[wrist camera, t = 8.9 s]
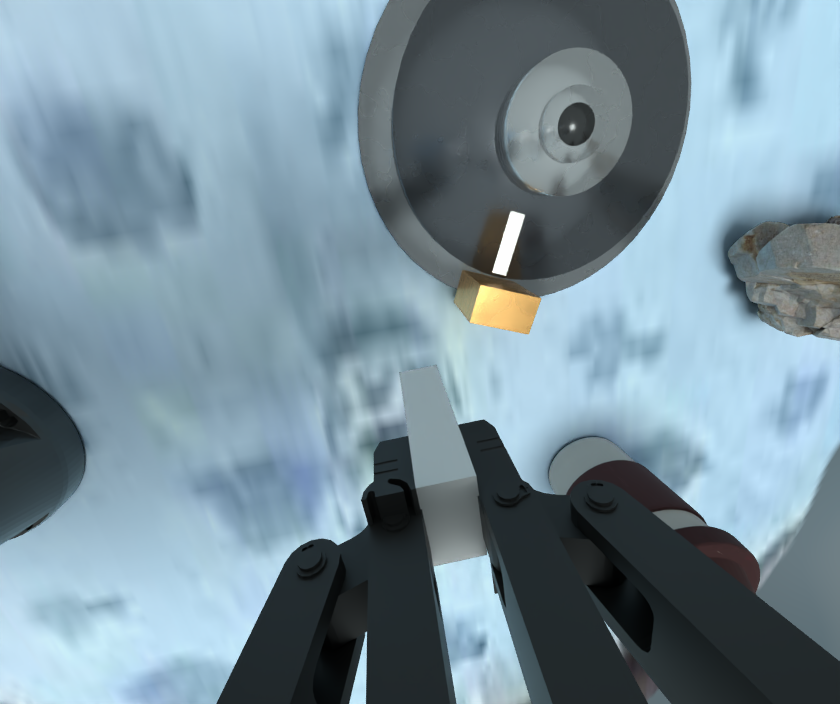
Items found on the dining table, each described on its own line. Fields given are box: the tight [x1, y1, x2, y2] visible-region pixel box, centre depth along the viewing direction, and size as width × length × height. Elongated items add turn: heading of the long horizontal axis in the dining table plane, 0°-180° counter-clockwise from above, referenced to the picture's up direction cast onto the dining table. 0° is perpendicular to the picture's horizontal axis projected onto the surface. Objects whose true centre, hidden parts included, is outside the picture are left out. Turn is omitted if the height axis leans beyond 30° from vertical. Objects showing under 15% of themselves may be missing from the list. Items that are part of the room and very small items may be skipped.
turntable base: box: [358, 0, 691, 297], centre depth 25 cm, size 22×22×1 cm
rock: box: [728, 216, 840, 341], centre depth 28 cm, size 9×12×10 cm
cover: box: [495, 47, 632, 196], centre depth 22 cm, size 7×7×3 cm
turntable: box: [391, 0, 688, 334], centre depth 23 cm, size 18×21×5 cm
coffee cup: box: [549, 437, 760, 595], centre depth 30 cm, size 10×10×15 cm
